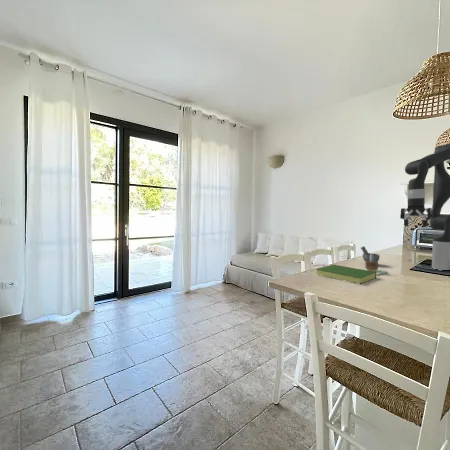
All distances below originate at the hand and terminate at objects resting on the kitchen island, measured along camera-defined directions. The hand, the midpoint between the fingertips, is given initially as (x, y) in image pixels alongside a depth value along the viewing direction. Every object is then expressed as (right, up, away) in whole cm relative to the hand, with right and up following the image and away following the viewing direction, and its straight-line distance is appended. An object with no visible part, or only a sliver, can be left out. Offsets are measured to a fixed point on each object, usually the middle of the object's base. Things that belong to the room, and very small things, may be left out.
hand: (415, 226), depth 140 cm
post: (-21, -27, +7) cm, 35 cm away
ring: (-21, -25, +7) cm, 33 cm away
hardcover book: (-40, -28, -1) cm, 49 cm away
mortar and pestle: (-10, -26, +27) cm, 39 cm away
